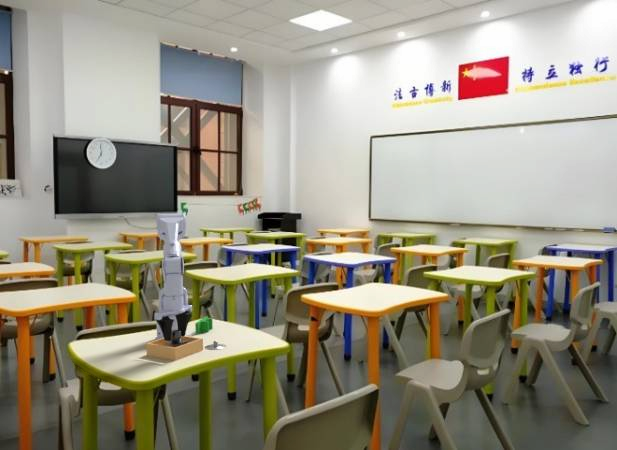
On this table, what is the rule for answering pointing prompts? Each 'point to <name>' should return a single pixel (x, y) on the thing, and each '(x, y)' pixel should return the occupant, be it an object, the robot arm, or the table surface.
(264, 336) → the table surface
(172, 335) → the grey stepped block
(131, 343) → the table surface
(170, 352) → the bin
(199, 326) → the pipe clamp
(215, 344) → the stud plate
